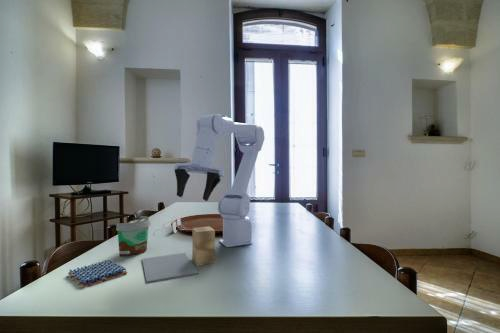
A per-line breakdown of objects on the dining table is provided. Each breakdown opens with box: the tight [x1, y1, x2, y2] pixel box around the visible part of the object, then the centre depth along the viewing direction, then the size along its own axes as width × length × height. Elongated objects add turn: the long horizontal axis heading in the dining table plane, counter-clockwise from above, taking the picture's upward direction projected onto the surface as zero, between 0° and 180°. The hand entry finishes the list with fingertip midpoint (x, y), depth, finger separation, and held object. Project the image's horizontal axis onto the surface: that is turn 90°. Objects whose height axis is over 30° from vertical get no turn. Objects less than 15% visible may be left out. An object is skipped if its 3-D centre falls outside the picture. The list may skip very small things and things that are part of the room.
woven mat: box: [66, 259, 128, 289], centre depth 65 cm, size 10×11×2 cm
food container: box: [115, 215, 152, 258], centre depth 82 cm, size 12×6×10 cm, turn 168°
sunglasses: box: [153, 216, 182, 235], centre depth 109 cm, size 14×8×5 cm, turn 2°
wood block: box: [191, 225, 216, 267], centre depth 74 cm, size 5×5×9 cm
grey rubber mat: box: [141, 252, 199, 284], centre depth 70 cm, size 12×16×1 cm
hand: (192, 198), depth 72 cm, fingers open, 7 cm apart
